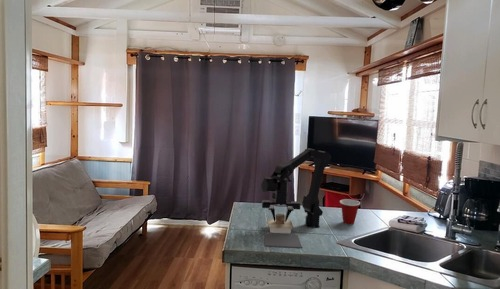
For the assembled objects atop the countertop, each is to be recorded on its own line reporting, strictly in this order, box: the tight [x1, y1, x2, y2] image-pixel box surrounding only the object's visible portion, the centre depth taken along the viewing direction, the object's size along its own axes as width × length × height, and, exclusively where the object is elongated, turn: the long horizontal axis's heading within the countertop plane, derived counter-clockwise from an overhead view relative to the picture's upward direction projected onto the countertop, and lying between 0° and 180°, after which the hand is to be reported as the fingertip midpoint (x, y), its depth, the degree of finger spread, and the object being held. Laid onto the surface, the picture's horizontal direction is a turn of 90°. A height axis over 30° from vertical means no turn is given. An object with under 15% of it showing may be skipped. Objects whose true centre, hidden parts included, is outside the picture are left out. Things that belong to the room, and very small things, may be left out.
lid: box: [267, 213, 294, 229], centre depth 183 cm, size 12×12×5 cm
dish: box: [268, 227, 292, 235], centre depth 183 cm, size 10×10×3 cm
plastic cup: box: [339, 198, 361, 225], centre depth 201 cm, size 11×11×12 cm
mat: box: [263, 232, 303, 249], centre depth 167 cm, size 16×16×1 cm
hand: (280, 221), depth 183 cm, fingers open, 5 cm apart
